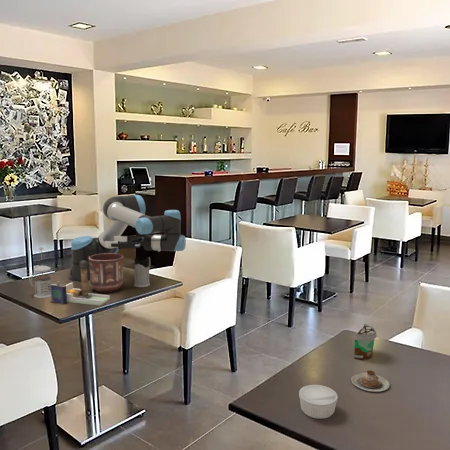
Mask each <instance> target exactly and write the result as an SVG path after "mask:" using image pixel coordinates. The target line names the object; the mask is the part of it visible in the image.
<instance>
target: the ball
mask: <svg viewBox="0 0 450 450" xmlns="http://www.w3.org/2000/svg"><path fill="white" fill-rule="evenodd" d="M75 292H76V291H75V290H74V289H70V290H69V291H68V293H70V294H73V297H74V293H75Z"/></svg>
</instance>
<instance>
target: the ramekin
mask: <svg viewBox="0 0 450 450" xmlns="http://www.w3.org/2000/svg"><path fill="white" fill-rule="evenodd" d="M299 389H300V390H299V391H298V396H299V402H300V408H301V410H302V412H303V413H304V414H305V415H306V416H307V417H309V418H314V419H320V420H321V419H328V418H330V417H332V415H333V414H334V413H335V410H336V406H337V402H338V394H337V392H336V391H335V390H334V389H333V388H330V387H328V386H325V385H321V384H309V385H305V386H303V387H301V388H299Z"/></svg>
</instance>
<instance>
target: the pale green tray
mask: <svg viewBox="0 0 450 450" xmlns="http://www.w3.org/2000/svg"><path fill="white" fill-rule="evenodd" d="M65 286H66V295H67V303H75V304H83V305H94V306H102V305H104V304H105V303H106V302H108V301H110V300H111V296H110V294H109V295H108V294H99V293H91V292H90V293H89V292H88V294H92V297H90V298H88V299H85V298H75V297H73V294H70V293H68V291H69V290H70V289H74V290H75V291H78V290H80V289H81V288H74V282H73V281H72V282H70V283H67V284H65Z"/></svg>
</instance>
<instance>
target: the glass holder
mask: <svg viewBox="0 0 450 450" xmlns="http://www.w3.org/2000/svg"><path fill="white" fill-rule="evenodd" d="M150 269H151V258H150V256H149V257H148V256H137V257H134V284H133V286H134V287H135V288H147V287H150V286H151V283H150Z"/></svg>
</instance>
